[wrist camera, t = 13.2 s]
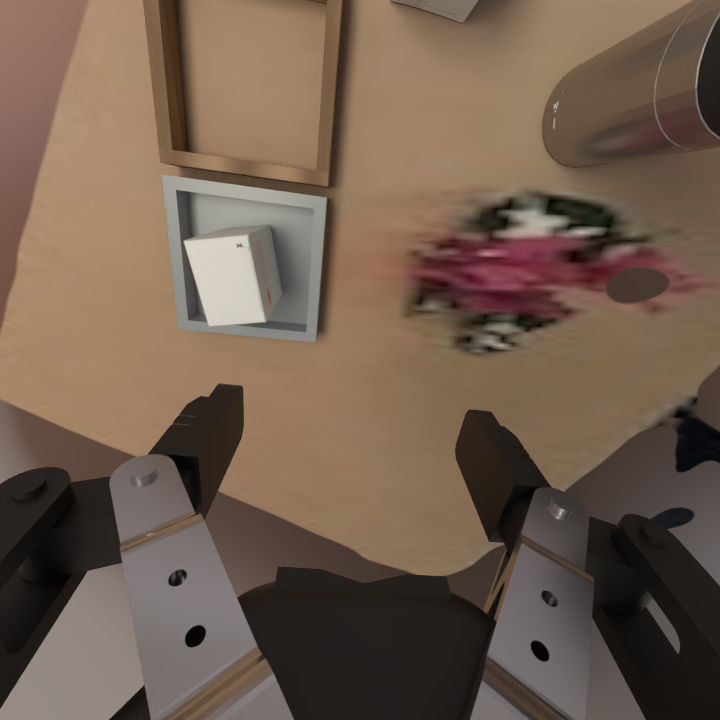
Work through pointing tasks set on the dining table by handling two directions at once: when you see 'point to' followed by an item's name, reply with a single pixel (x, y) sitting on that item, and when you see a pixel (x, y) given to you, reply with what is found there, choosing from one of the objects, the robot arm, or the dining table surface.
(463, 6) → the supplement box
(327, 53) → the frame
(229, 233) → the small box
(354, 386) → the dining table surface
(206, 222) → the tray
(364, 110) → the dining table surface
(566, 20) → the dining table surface
